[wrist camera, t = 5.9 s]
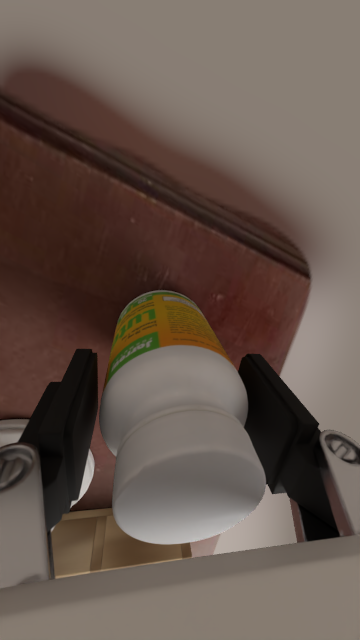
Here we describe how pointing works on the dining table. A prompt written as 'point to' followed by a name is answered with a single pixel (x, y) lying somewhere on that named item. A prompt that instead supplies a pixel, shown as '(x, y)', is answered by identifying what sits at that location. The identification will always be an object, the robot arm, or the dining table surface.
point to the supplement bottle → (176, 425)
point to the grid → (104, 545)
